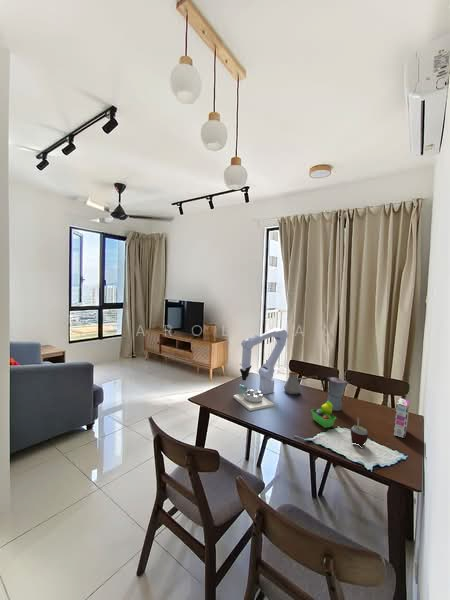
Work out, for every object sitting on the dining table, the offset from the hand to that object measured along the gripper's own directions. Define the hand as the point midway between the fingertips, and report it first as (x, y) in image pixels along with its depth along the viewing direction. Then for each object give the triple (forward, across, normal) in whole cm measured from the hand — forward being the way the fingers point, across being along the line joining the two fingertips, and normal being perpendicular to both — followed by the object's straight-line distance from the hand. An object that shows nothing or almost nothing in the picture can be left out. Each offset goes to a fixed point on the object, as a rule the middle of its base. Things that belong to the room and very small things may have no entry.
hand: (245, 378), depth 171 cm
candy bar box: (+11, +17, +84) cm, 86 cm away
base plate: (+10, +10, +7) cm, 16 cm away
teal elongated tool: (+8, +8, +4) cm, 12 cm away
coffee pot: (+11, -14, +35) cm, 39 cm away
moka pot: (+11, -1, +54) cm, 55 cm away
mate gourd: (+11, +37, +61) cm, 72 cm away
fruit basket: (+11, +21, +47) cm, 52 cm away
